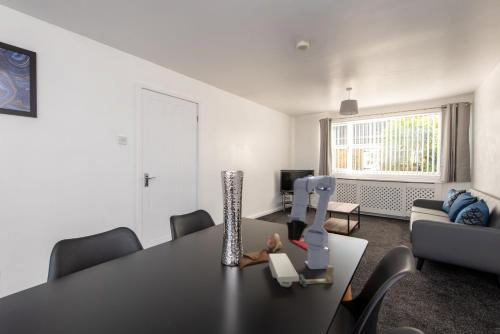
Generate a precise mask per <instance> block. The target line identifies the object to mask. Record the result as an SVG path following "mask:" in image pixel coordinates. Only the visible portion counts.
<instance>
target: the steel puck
mask: <svg viewBox="0 0 500 334" xmlns="http://www.w3.org/2000/svg"><path fill="white" fill-rule="evenodd" d="M278 283H279V284H278V285H280V287H282V288H290V287H291V286H292V285H293V282H278Z"/></svg>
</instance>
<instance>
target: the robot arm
mask: <svg viewBox="0 0 500 334" xmlns="http://www.w3.org/2000/svg"><path fill="white" fill-rule="evenodd" d="M336 182H337V181H336V177H335V176H333V175H331V176H330V175H314V176H313V175H312V174H308V175H307V176H304V177H303V178H296V179H295V180H294V182H293V195H294V197H293V201H292V207H291V213H290V214H287V217H288V218H289V221H285V222H286V226H287V239H288V240H289V241H290V240H292V241H293V240H295V241H300V238H301V236H302V235H304V242H305V244H306V246H307V247H308V251H307V260H305V261H304V263H305V264H306V266H307V267H308V269H310V270H323V269H324V270H325V269H326V270H327V265H330V252H329V251H330V250H328V249H329V248H328V247H327V246H328V241H329V239H328V238H329V233H328V231H327V230H326V229H325V228H324V225H325V221H326V217H327V216H326V215H327V211H328V207H329V202H330V198H331V196H332V195H334V192H335V190H336V184H337V183H336ZM313 190H314V191H315V193H316V194H317V195H318V196H319V198H318V202H317V205H316V211H315V213H314V218H313V219H314V220H313V224H312V225H310V226H308V225H309V224H308V223H305V222H306V218H307V217H306V213H307V209H308V208H307V207H308V202H309V197H310V194H311V193H312V192H313ZM305 229H306V230H305ZM304 232H305V233H304ZM303 233H304V234H303Z"/></svg>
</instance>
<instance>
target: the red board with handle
mask: <svg viewBox="0 0 500 334" xmlns="http://www.w3.org/2000/svg"><path fill="white" fill-rule="evenodd" d="M304 235H305V234H302V236H301V238H300V241H295V240H293V241H292V240H289V242H291V243H292V244H294V245H296V246H298V247H300V248H301V249H303V250H305V251H307V252H308V247H307V246H306V244H305V242H304ZM328 250H329V251H330V249H329V248H328Z"/></svg>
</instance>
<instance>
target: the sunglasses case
mask: <svg viewBox="0 0 500 334" xmlns="http://www.w3.org/2000/svg"><path fill="white" fill-rule="evenodd" d="M242 254H243V257H242V258H241V259H239V260H238V265H237V266H238V267H239V268H241V269H242V268H246V267H249V266H255V265H259V264H263V263H269V254H268V253H267V252H266V249H262V250H257V251H252V252H247V253H242Z"/></svg>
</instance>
